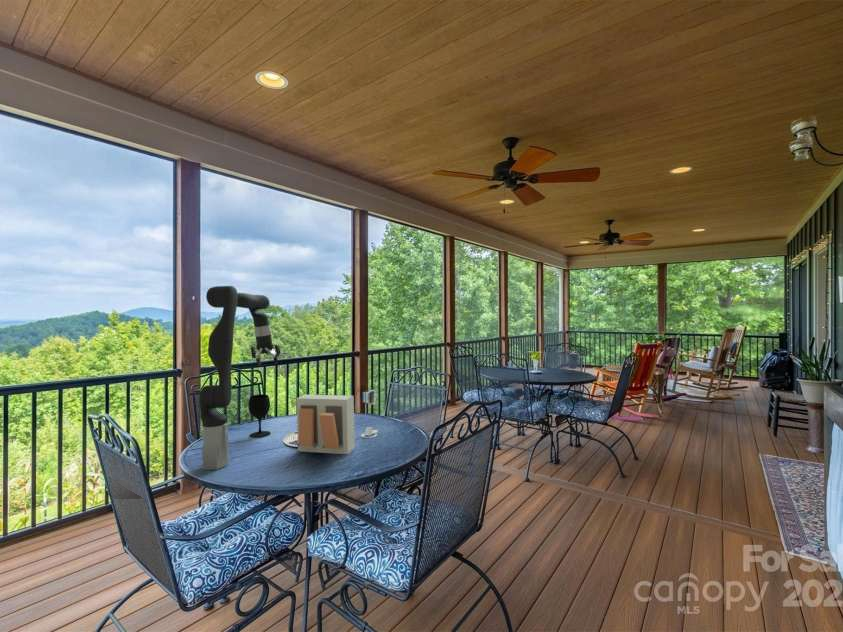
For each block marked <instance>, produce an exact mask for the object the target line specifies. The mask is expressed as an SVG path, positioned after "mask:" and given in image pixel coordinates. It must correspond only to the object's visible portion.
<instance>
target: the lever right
mask: <svg viewBox="0 0 843 632" xmlns="http://www.w3.org/2000/svg"><path fill="white" fill-rule="evenodd" d="M319 419H320V425H321V430H322V436H323V442H324V448H334V449H338V447H339V441H338V435H337V429H336V422H335V416H334V413H320V415H319Z"/></svg>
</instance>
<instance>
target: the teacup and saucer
mask: <svg viewBox="0 0 843 632" xmlns="http://www.w3.org/2000/svg"><path fill="white" fill-rule="evenodd" d="M365 435H366V436H365ZM360 436H361V437H362V438H366V439H367V438H374V437H377V436H378V429H373V427H371V426H369V427H365V429H364V433H362V434H361V435H360Z"/></svg>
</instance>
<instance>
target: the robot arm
mask: <svg viewBox="0 0 843 632" xmlns="http://www.w3.org/2000/svg"><path fill="white" fill-rule="evenodd" d="M205 298H206V302H207V304H208V305H209V306H210V307H213V308H216V309H217V308H218V309H220V308H222V314H221V317H220V320H219V321H218V322H217V324H216V326H214V328H213V330H212V331H211V333H210V335H209V338H208V348H207V349H208V350H207V352H208V353H207V354H208V357H209V359H210V361H211V363H212V364H213V366H214V368H215V369H216V371H217V375H218V384H213V385H211V384H209V385H204V386H202V388H201V390H200V392H199V396H198V397H199V399H198V400H199V401H198V402H199V403H198V404H199V410H200V411H199V412H200V421H201V422H202V423H201V424H202V425H201V426H202V447H201V449H202V450H201V451H202V452H201V454H202V457H201V458H202V460H201V461H202V471H207V470H208V471H213V470H214V471H218V470H219V469H222V468H225V467H226V466H228V465H230V464H229V463H230V462H229V460H230V459H229V432H228V430H229V427H228V425H229V424H228V416H227V415H226V414H223V413H221V412H219V411H218V410H217V409H221V408H222V409H225V408H227V407H228V406H229V405H230V403H231V400H232V360H233V349H234V348H233V347H234V330H235V329H234V328H235V319H236V314H237V313H236V312H237V308H243V309H248V310H249V313H250V315H251V317H252V320H253V324H254V325H253V326H254V336H255V342H256V345H252V346H251V347H250V351H251V358H252V359H255V361H256V365H258V367H261V365H262V362H261V355H266V354H267V355H269V354H270V356H273V359H272V360H273V364H274V365H277V364H278V363H279V361H278V360H279V358H278V357H279V356H280V355H281V354H282V353H281V349H280V345H279V343H276V344H273V339H272V331H271V328H270V323H269V322H270V321H269V317H268V314H266V313H261V312H260V311H261V310H265V309H266V310H267V308H269V306H270V299H269V297H267V295H264V294H263V295H262V294H252V293H247V292H238V291H237V289H236V287H235V286H233V285H221V286H219V285H218V286H212V287H210V288H209V289H208V290H207V291H206V296H205ZM273 348H274V349H275V350H274V349H273ZM257 350H258V352H256V351H257Z"/></svg>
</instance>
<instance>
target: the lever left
mask: <svg viewBox="0 0 843 632" xmlns="http://www.w3.org/2000/svg"><path fill="white" fill-rule="evenodd" d="M313 445H314V409H309V408H301V409H299V446H311V447H312V446H313Z"/></svg>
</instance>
